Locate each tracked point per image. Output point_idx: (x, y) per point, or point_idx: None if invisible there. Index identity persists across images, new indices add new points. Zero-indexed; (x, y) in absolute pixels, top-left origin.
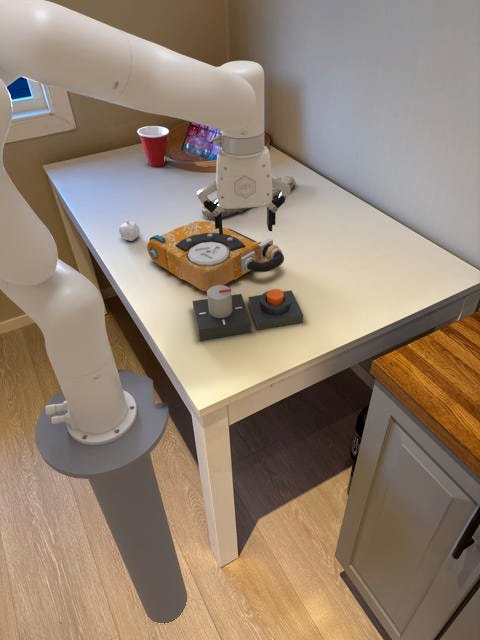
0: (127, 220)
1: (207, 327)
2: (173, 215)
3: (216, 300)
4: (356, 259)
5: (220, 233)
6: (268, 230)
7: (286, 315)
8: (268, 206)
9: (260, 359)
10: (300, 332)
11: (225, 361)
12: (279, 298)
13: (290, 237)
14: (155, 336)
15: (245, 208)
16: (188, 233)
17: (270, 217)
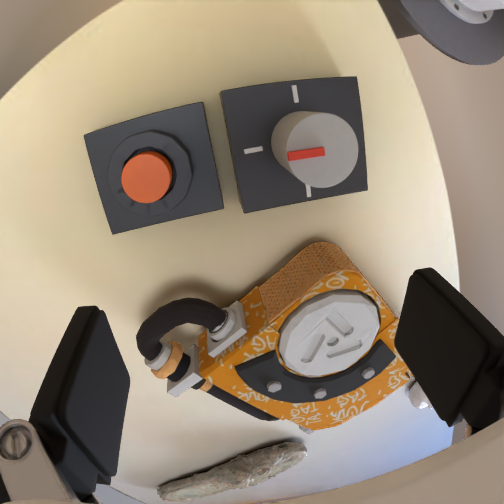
0: (430, 407)
1: (335, 81)
2: (347, 437)
3: (332, 114)
4: (19, 342)
5: (429, 269)
6: (105, 314)
7: (123, 129)
8: (52, 482)
9: (202, 6)
10: (99, 97)
11: (284, 7)
12: (133, 157)
13: (144, 408)
14: (423, 112)
15: (231, 461)
16: (359, 395)
17: (56, 384)
